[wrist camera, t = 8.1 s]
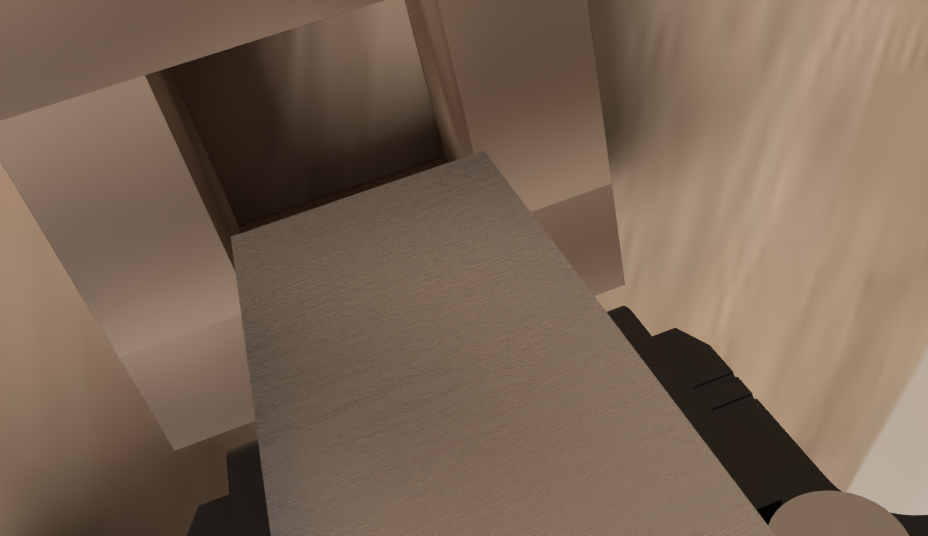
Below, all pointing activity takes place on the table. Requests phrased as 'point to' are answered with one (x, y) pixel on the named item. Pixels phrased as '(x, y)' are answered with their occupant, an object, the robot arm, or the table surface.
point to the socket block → (198, 188)
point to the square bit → (457, 378)
